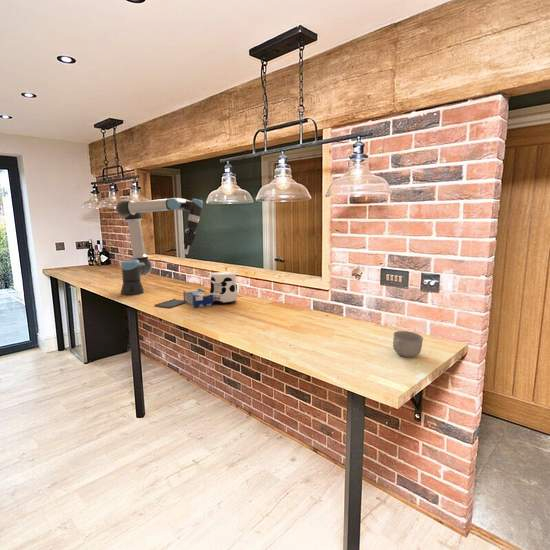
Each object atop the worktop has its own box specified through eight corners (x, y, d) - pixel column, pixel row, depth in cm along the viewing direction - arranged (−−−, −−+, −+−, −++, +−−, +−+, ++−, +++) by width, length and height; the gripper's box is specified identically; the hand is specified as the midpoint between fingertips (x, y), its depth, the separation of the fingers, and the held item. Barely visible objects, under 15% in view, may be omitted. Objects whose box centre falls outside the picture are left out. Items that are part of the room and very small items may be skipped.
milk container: (233, 298, 240) (233, 271, 237) (240, 304, 224) (239, 275, 221) (207, 300, 234) (206, 272, 232) (212, 306, 218) (211, 276, 215)
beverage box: (183, 290, 232) (195, 296, 213) (199, 288, 238) (212, 294, 219) (183, 301, 233) (195, 308, 215) (200, 298, 239) (212, 305, 220)
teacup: (406, 347, 149) (407, 329, 148) (428, 356, 140) (429, 336, 138) (380, 354, 143) (381, 334, 141) (402, 363, 133) (403, 342, 132)
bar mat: (154, 306, 219) (154, 304, 219) (174, 300, 235) (174, 298, 235) (170, 308, 214) (170, 306, 214) (189, 301, 230) (189, 300, 230)
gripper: (192, 221, 247) (184, 254, 249) (202, 223, 260) (194, 255, 261) (183, 218, 250) (175, 252, 251) (193, 221, 262) (185, 253, 263)
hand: (185, 253), depth 256 cm, fingers closed
